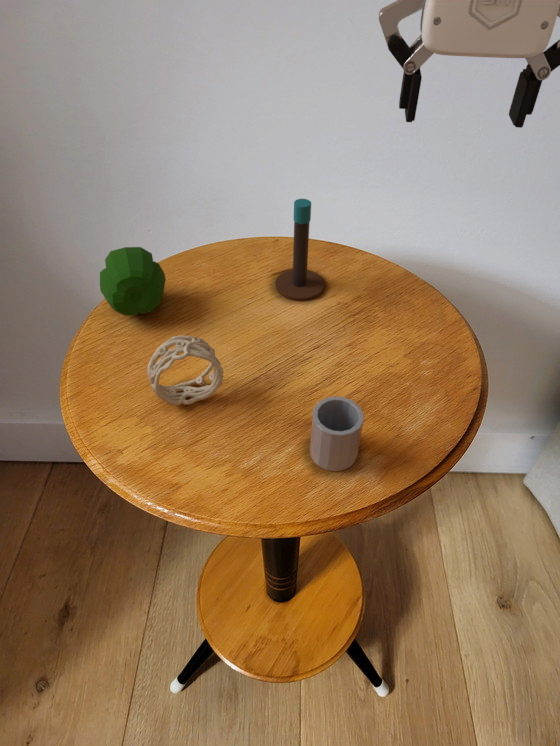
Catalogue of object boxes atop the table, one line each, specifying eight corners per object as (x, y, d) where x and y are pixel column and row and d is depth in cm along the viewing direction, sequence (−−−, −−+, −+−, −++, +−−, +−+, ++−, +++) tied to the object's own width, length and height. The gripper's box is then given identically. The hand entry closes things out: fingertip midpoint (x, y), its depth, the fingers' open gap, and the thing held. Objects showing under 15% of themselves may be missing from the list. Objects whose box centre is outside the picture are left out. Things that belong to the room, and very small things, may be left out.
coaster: (325, 273, 83) (325, 270, 83) (322, 302, 78) (323, 299, 78) (278, 270, 84) (278, 267, 83) (272, 298, 79) (272, 296, 78)
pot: (357, 435, 62) (363, 398, 57) (356, 473, 58) (363, 437, 54) (311, 431, 62) (314, 394, 58) (308, 469, 58) (311, 432, 54)
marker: (307, 278, 81) (311, 199, 72) (306, 287, 80) (310, 207, 71) (292, 277, 81) (294, 198, 73) (290, 286, 80) (293, 206, 71)
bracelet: (150, 394, 66) (139, 343, 60) (216, 376, 68) (211, 325, 62) (159, 418, 63) (148, 367, 57) (226, 399, 65) (222, 348, 60)
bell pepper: (179, 280, 71) (169, 249, 79) (115, 258, 67) (111, 227, 75) (155, 334, 74) (148, 299, 82) (92, 316, 70) (91, 281, 78)
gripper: (397, -126, 38) (367, 131, 50) (664, -122, 37) (568, 140, 49) (393, -134, 43) (367, 100, 55) (627, -130, 42) (548, 108, 54)
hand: (461, 119), depth 52 cm, fingers open, 9 cm apart
